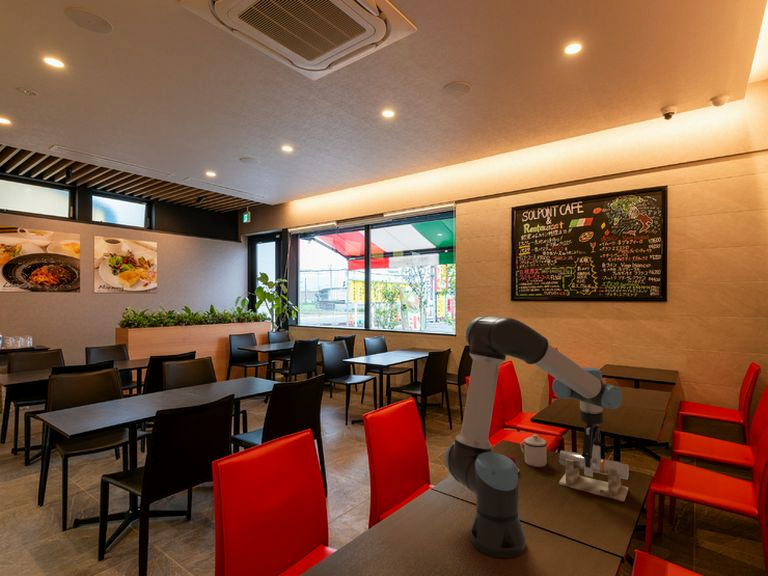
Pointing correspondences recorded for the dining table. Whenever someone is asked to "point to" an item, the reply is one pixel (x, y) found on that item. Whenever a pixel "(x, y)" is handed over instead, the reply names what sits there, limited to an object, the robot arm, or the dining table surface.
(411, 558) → the dining table surface
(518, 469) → the apple
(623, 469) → the steel tube
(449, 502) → the dining table surface
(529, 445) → the teacup with lid
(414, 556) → the dining table surface
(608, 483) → the collar stand
